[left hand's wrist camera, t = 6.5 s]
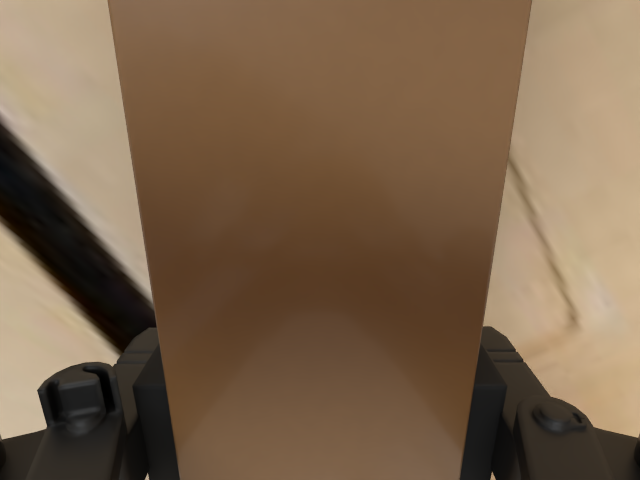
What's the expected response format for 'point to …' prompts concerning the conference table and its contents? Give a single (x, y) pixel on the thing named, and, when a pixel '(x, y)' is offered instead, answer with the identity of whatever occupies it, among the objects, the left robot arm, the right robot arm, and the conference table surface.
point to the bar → (319, 223)
